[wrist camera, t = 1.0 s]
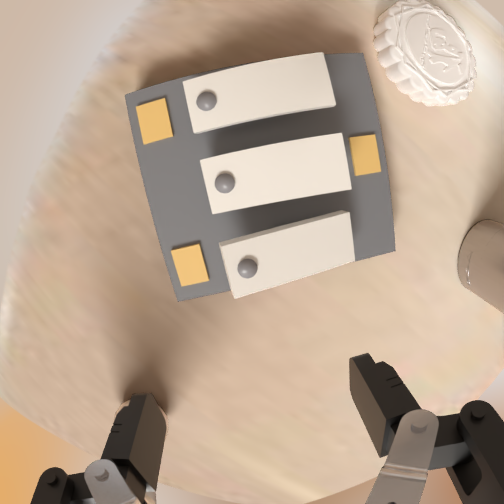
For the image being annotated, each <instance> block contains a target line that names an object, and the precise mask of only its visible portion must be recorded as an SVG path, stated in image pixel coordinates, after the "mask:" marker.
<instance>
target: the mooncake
mask: <svg viewBox="0 0 504 504" xmlns="http://www.w3.org/2000/svg"><path fill="white" fill-rule="evenodd" d="M373 31H374V34H375V36H376V38H375V39H374V41H373V45H374V47H375V49H376V50H377V51H378V52H379V53H378V55H377V58H378V61H379V63H380V64H381V65H382V66H383V67H384V68H385V73H386V76H387V77H388V78H389V79H390V80H391V81H393V82H396V86H397V88H398V90H399V91H400V92H402V93H404V94H408V95H409V97H410V98H411V99H412V100H413V101H415V102H423V103H424V104H425V105H426V106H436V105H437V106H446V105H453V104H457V103H458V102H459V100H465V99H466V98H467V97H468V92H471V91H472V90H473V89H474V82H473V81H474V80H475V79H476V77H477V74H476V70H475V68H474V67H475V66H476V60H475V57H474V56H473V54H472V47H471V44H470V43H469V42H468V41H467V40H466V36H465V33H464V31H463V30H462V29H461V28H460V27H458V26H457V25H456V22H455V20H454V19H453V18H452V17H451V16H449V15H446V14H445V13H444V11H443V10H442V9H441V8H440V7H438V6H432V5H431V4H430V3H429V2H427V1H425V0H421V1H418V0H406V1H404V0H399V1H397V2H396V3H395V4H394V5H392V6H391V7H390V8H388V9H387V10H386V11H385V12H384V13H383V14H381V15H380V16H379V17H378V24H377V25H376V26H375V27H374V30H373Z"/></svg>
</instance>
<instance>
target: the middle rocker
mask: <svg viewBox="0 0 504 504" xmlns="http://www.w3.org/2000/svg"><path fill="white" fill-rule="evenodd" d="M200 164H201V168H202V172H203V177H204V181H205V185H206V189H207V194H208V198H209V202H210V206H211V210H212V214H217V213H222V212H227V211H232V210H237V209H242V208H247V207H252V206H258V205H263V204H268V203H274V202H279V201H285V200H291V199H296V198H302V197H308V196H314V195H320V194H326V193H332V192H338V191H344V190H351V189H352V188H351V181H350V175H349V169H348V163H347V157H346V151H345V146H344V141H343V136H342V133H336V134H329V135H323V136H316V137H310V138H304V139H298V140H292V141H286V142H281V143H276V144H270V145H265V146H260V147H255V148H250V149H246V150H241V151H236V152H232V153H227V154H223V155H219V156H215V157H210V158H206V159H202V160H200Z"/></svg>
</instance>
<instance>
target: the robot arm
mask: <svg viewBox="0 0 504 504" xmlns="http://www.w3.org/2000/svg"><path fill="white" fill-rule="evenodd" d="M458 274H459V278H460V281H461V283H462V284H463V285H464V287H466V288H467V289H469V290H470V291H472V292H473V293H475V294H476V295H478V296H479V297H481V298H482V299H484V300H485V301H486V302H488V303H489V304H491V305H492V306H493V307H495V308H496V309H498V310H499V311H501V312H502V313H504V224H501V223H499V222H496V221H493V220H482V221H480V222H478V223H477V224H476V225H474V226H473V227H472V228H471V230H470V231H469V232H468V234H467V235H466V237H465V239H464V241H463V244H462V246H461V249H460V253H459V258H458ZM349 368H350V391H351V395H352V398H353V401H354V403H355V405H356V407H357V409H358V411H359V414H360V416H361V418H362V420H363V422H364V424H365V426H366V429H367V431H368V433H369V435H370V437H371V440H372V442H373V444H374V446H375V448H376V450H377V453H378V455H379V457H380V458H381V457H384V456H386V455H388V457H387V459H386V462H385V464H384V466H383V467H382V468H381V470H380V473H379V475H378V477H377V480H376V482H375V484H374V486H373V488H372V491H371V493H370V495H369V497H368V499H367V501H366V503H365V504H419V502H420V499H421V496H422V493H423V490H424V486H425V483H426V479H427V475H428V474H427V471H428V470H433V469H439V468H446V470H447V472H448V474H449V476H450V478H451V480H452V482H453V484H454V486H455V488H456V490H457V492H458V494H459V497H460V499H461V501H462V503H463V504H504V422H503V420H502V419H501V418H500V416H499V415H498V413H497V412H496V411H495V410H494V408H493V407H492V406H491V405H490V404H489V403H487V402H484V401H481V400H475V401H471V402H469V403H467V404H465V405H464V406H463V408H462V409H461V412H460V413H458V414H452V415H446V416H436V415H435V414H433V413H432V412H430V411H427V410H422V409H421V407H420V406H419V405H418V403H417V402H416V400H415V399H414V397H413V396H412V394H411V393H410V391H409V390H408V388H407V387H406V386H405V384H403V381H402V380H401V378H400V377H399V375H398V374H397V373H396V371H395V370H394V368H393V367H392V366H390V365H388V364H387V363H385V362H383V361H382V362H379V363H376V364H375V362H374V360H373V359H372V357H371V356H370V354H369V353H366V354H362V355H359V356H355V357H352V358H350V360H349ZM166 430H167V427H166V421H165V418H164V416H163V414H162V412H161V410H160V408H159V406H158V404H157V402H156V400H155V398H154V396H153V395H152V394H151V393H140V394H133V395H132V397H131V399H130V402H129V405H128V406H124V407H123V408H122V409H121V410H120V411H119V412H118V414H117V415H116V417H115V420H114V423H113V426H112V428H111V433H110V434H109V437H108V440H107V442H106V445H105V448H104V451H103V454H102V457H101V459H100V460H97V461H94V462H92V463H91V464H90V465H89V466H88V467H87V468H86V470H85V472H84V473H78V474H72V475H67V474H66V473H65V472H64V470H62V469H61V468H57V467H53V468H49V469H47V470H46V471H45V472H43V474H42V475H41V477H40V479H39V482H38V484H37V487H36V489H35V492H34V495H33V498H32V501H31V504H149V503H148V502H147V500H146V499H145V493H146V492H156V487H157V481H158V475H159V469H160V464H161V458H162V452H163V447H164V441H165V436H166Z"/></svg>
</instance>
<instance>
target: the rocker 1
mask: <svg viewBox="0 0 504 504" xmlns="http://www.w3.org/2000/svg"><path fill="white" fill-rule="evenodd" d="M183 86H184V91H185V96H186V100H187V105H188V110H189V114H190V119H191V123H192V128H193V133H197V134H199V133H203V132H206V131H210V130H214V129H218V128H223V127H227V126H231V125H235V124H240V123H244V122H249V121H254V120H258V119H263V118H268V117H274V116H279V115H284V114H290V113H296V112H302V111H308V110H315V109H322V108H329V107H334V106H335V105H336V102H335V98H334V94H333V89H332V85H331V81H330V77H329V73H328V69H327V65H326V61H325V58H324V54H323V52H319V53H311V54H303V55H296V56H290V57H284V58H278V59H272V60H267V61H262V62H257V63H252V64H247V65H243V66H238V67H234V68H230V69H226V70H222V71H218V72H214V73H210V74H207V75H203V76H200V77H196V78H193V79H189V80H186V81H183Z"/></svg>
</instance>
